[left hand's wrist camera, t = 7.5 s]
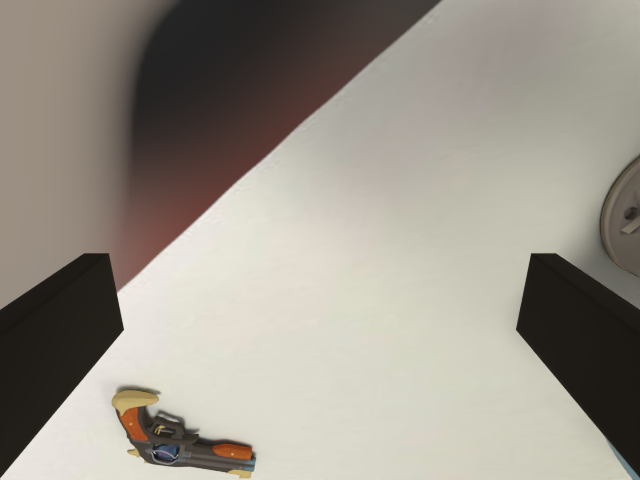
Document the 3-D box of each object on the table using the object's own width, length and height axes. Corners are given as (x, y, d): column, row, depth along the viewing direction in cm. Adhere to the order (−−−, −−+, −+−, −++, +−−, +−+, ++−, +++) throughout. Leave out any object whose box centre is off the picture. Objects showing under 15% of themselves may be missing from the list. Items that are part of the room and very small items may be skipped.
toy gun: (109, 397, 47) (98, 466, 49) (267, 421, 50) (250, 486, 52) (118, 383, 49) (107, 449, 51) (268, 407, 52) (251, 469, 54)
